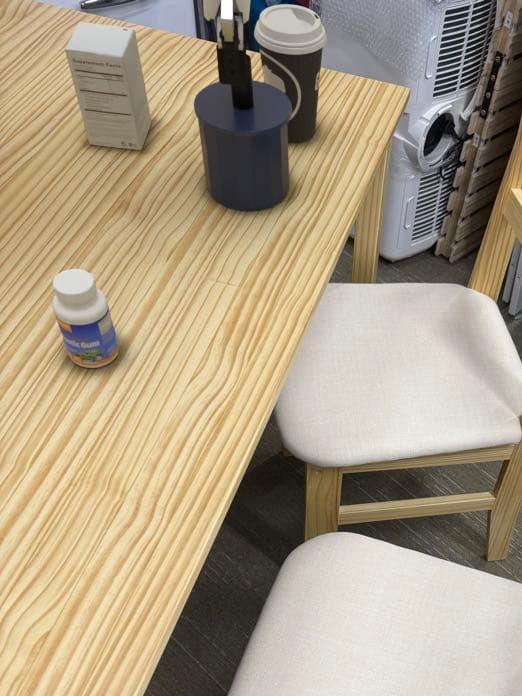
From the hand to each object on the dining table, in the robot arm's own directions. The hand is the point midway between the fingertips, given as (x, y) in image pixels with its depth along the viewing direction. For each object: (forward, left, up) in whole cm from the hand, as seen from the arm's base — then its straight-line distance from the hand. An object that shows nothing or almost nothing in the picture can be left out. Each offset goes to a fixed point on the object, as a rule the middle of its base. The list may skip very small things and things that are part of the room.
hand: (235, 62), depth 92 cm
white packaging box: (-18, +11, -16) cm, 26 cm away
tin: (0, 0, -16) cm, 16 cm away
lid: (+1, 0, -6) cm, 6 cm away
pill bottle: (-16, -32, -16) cm, 39 cm away
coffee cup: (+6, +14, -16) cm, 23 cm away
